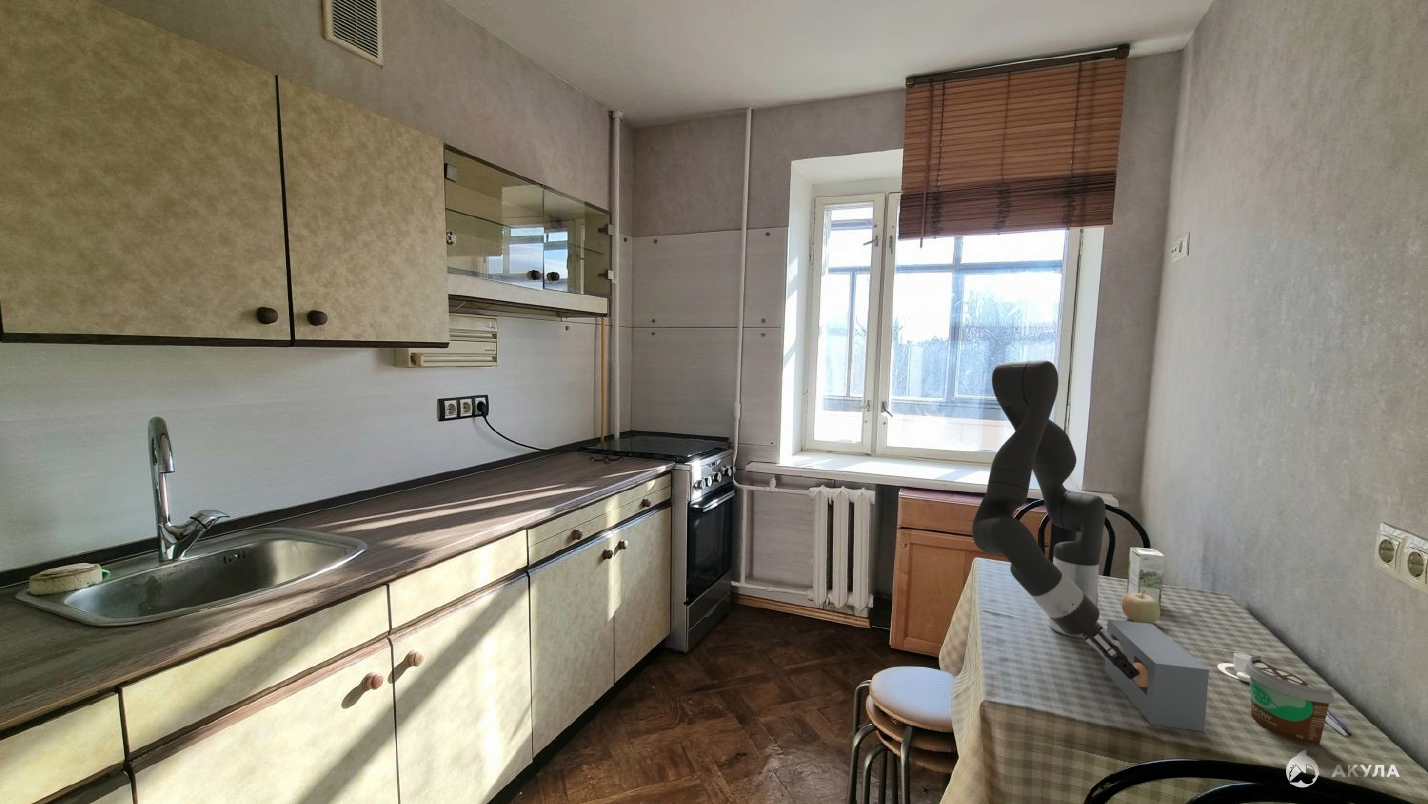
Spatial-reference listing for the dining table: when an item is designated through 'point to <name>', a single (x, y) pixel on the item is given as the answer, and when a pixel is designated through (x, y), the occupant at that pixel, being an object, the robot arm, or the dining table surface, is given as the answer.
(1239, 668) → the teacup and saucer
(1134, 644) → the block
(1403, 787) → the dining table surface
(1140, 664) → the terracotta button
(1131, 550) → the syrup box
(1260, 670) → the food container
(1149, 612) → the fruit
